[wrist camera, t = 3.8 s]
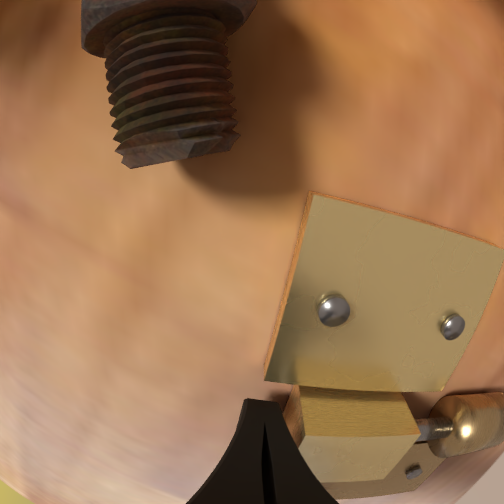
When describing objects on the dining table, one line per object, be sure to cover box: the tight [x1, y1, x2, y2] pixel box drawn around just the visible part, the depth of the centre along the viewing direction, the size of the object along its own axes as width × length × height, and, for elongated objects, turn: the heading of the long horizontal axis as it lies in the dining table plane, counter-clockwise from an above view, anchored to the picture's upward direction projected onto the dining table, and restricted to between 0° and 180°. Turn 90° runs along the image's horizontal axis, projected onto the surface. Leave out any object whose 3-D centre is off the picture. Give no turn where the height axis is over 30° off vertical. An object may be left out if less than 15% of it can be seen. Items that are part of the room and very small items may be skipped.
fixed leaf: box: [320, 392, 504, 500], centre depth 12 cm, size 9×12×3 cm
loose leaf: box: [264, 191, 504, 482], centre depth 10 cm, size 10×8×3 cm
